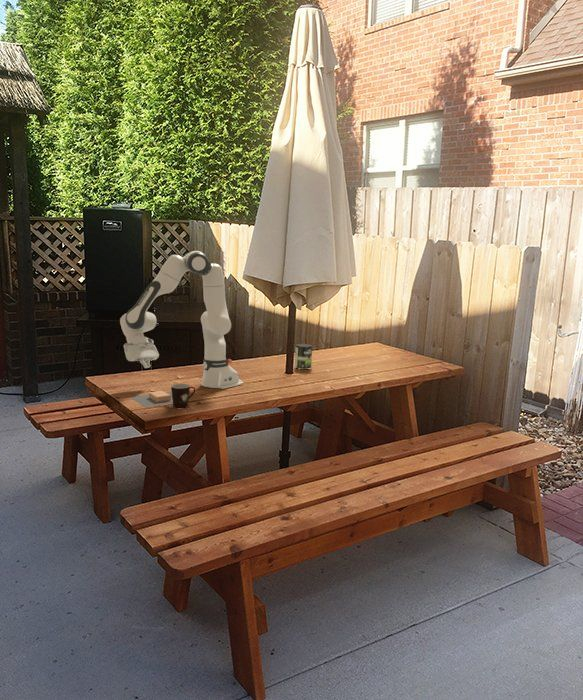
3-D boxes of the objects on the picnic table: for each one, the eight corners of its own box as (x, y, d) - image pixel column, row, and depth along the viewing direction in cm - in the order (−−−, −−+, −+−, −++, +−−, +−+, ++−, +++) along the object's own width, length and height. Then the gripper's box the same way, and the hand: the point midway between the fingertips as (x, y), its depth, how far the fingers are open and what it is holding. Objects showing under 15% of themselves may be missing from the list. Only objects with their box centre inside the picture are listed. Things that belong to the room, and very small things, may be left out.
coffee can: (314, 368, 383) (316, 345, 380) (302, 370, 376) (303, 347, 374) (303, 365, 391) (304, 342, 388) (290, 367, 384) (291, 344, 381)
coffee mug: (171, 409, 292) (172, 388, 290) (170, 404, 300) (170, 383, 298) (197, 408, 295) (197, 387, 293) (194, 403, 303) (195, 383, 301)
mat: (171, 391, 321) (171, 391, 321) (188, 400, 307) (188, 400, 307) (129, 397, 308) (129, 397, 308) (145, 407, 294) (145, 406, 294)
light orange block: (162, 390, 312) (170, 395, 305) (162, 395, 312) (170, 400, 305) (148, 392, 307) (156, 397, 300) (148, 397, 308) (156, 402, 301)
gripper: (126, 340, 311) (137, 365, 308) (155, 340, 329) (165, 363, 326) (118, 346, 314) (128, 371, 311) (147, 345, 332) (157, 369, 329)
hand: (147, 367), depth 318 cm, fingers closed
